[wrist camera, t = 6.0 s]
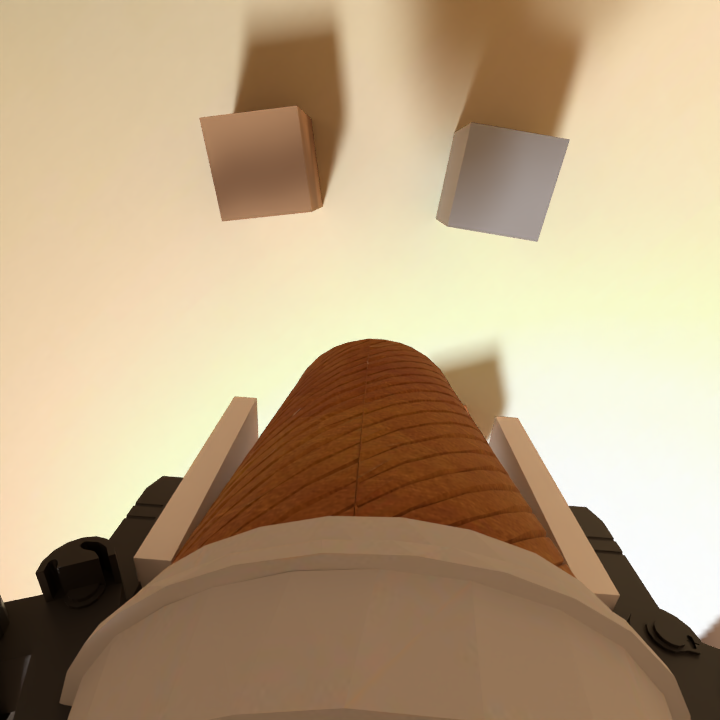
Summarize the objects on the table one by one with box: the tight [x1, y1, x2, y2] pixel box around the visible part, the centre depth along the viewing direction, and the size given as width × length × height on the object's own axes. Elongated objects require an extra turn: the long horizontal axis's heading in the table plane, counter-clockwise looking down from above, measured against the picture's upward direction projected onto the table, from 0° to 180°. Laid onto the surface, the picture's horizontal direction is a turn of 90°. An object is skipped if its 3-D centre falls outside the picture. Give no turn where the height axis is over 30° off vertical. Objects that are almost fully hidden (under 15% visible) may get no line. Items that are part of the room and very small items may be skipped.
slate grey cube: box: [436, 122, 569, 241], centre depth 24 cm, size 5×5×5 cm
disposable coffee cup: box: [60, 339, 691, 720], centre depth 11 cm, size 10×10×12 cm
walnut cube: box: [200, 106, 323, 221], centre depth 24 cm, size 5×5×5 cm
